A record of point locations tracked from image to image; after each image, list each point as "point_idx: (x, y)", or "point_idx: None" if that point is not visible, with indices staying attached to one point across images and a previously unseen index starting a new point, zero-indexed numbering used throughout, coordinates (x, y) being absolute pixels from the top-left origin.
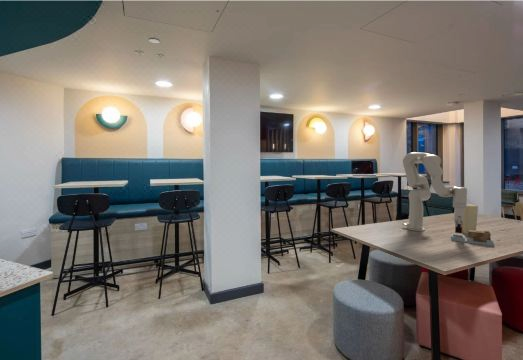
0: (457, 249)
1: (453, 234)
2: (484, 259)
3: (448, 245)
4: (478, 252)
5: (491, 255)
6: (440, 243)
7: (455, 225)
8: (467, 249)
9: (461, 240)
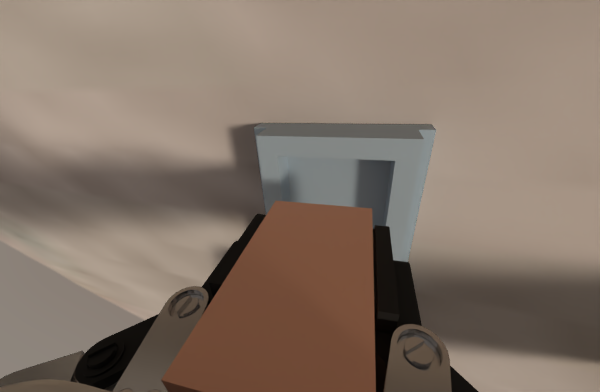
0: (33, 157)
1: (396, 168)
2: (14, 248)
3: (62, 97)
4: (91, 251)
5: (98, 286)
6: (52, 16)
7: (214, 298)
8: (92, 212)
9: (266, 213)
